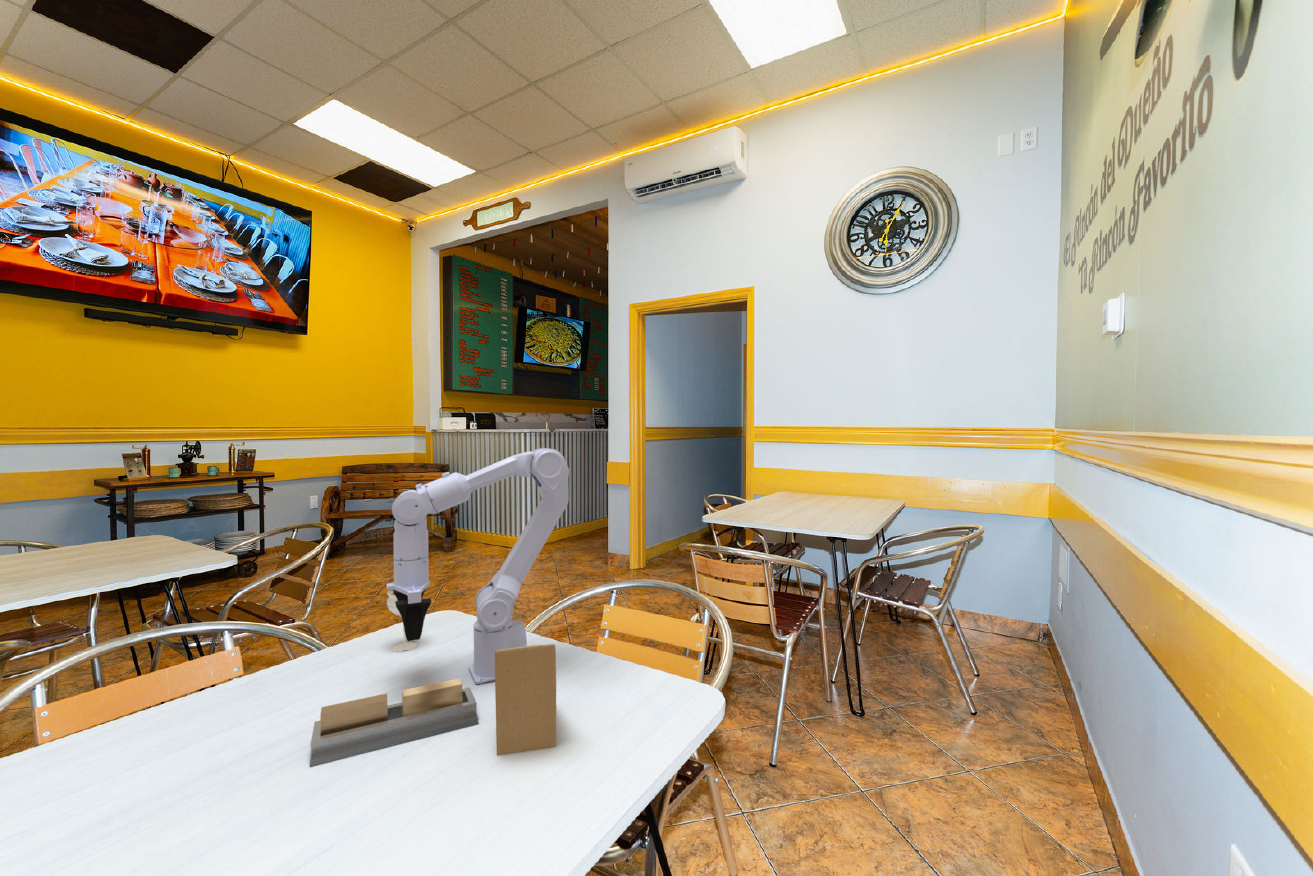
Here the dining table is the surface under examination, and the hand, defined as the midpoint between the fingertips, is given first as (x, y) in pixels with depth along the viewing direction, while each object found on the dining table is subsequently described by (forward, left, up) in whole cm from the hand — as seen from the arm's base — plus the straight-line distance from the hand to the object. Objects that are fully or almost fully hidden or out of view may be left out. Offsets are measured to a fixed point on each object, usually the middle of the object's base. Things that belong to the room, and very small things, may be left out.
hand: (411, 632), depth 96 cm
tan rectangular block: (-2, +15, -9) cm, 17 cm away
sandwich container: (-15, +23, -10) cm, 29 cm away
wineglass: (0, -20, -10) cm, 22 cm away
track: (+3, +15, -9) cm, 18 cm away
